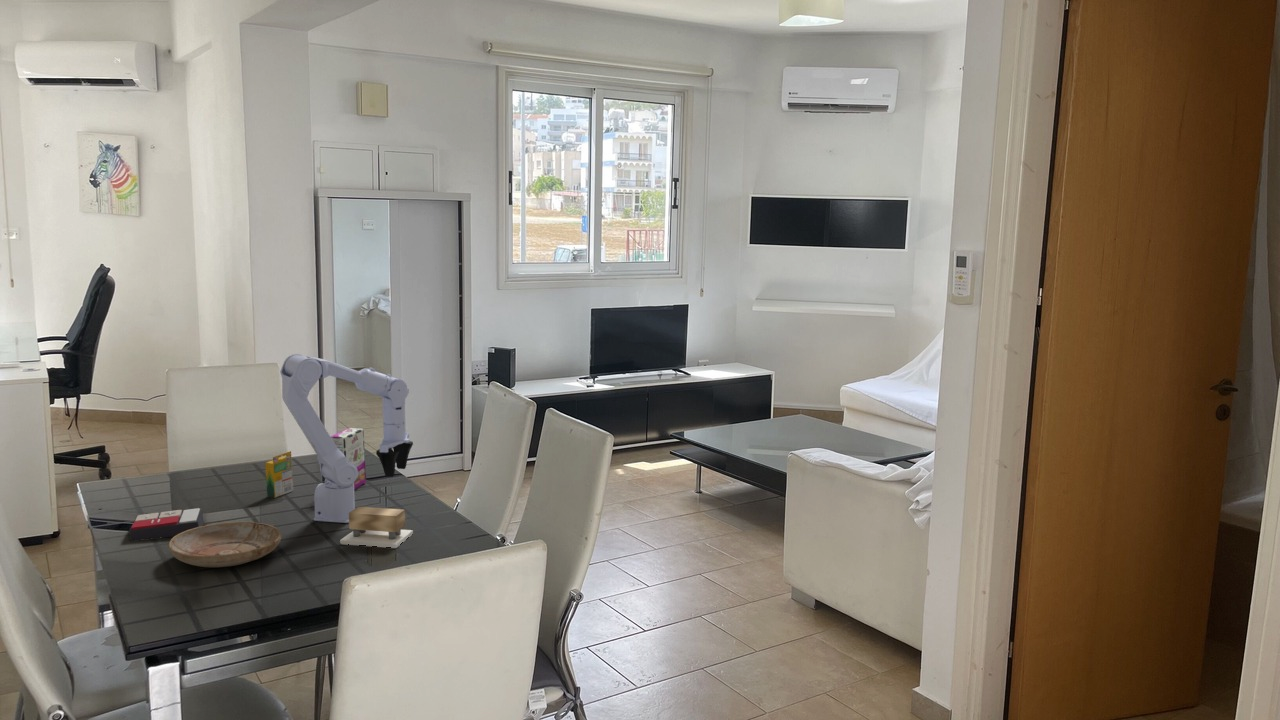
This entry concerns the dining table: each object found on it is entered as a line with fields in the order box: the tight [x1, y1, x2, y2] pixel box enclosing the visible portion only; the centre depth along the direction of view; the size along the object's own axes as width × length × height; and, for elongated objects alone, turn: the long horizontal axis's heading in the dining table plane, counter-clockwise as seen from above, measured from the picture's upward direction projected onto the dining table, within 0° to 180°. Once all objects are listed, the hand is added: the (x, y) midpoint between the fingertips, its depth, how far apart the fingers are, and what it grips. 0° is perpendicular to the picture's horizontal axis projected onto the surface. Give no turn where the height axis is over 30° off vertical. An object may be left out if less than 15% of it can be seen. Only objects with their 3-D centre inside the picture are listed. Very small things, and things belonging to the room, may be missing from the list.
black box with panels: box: [128, 507, 204, 542], centre depth 231 cm, size 11×4×15 cm
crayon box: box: [265, 450, 294, 499], centre depth 262 cm, size 7×3×12 cm, turn 159°
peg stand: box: [339, 529, 414, 549], centre depth 227 cm, size 14×10×3 cm
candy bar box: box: [330, 427, 367, 491], centre depth 267 cm, size 11×5×16 cm, turn 168°
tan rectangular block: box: [348, 506, 406, 532], centre depth 227 cm, size 12×5×4 cm, turn 81°
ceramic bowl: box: [168, 521, 282, 568], centre depth 214 cm, size 23×24×5 cm
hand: (395, 472), depth 251 cm, fingers open, 7 cm apart
